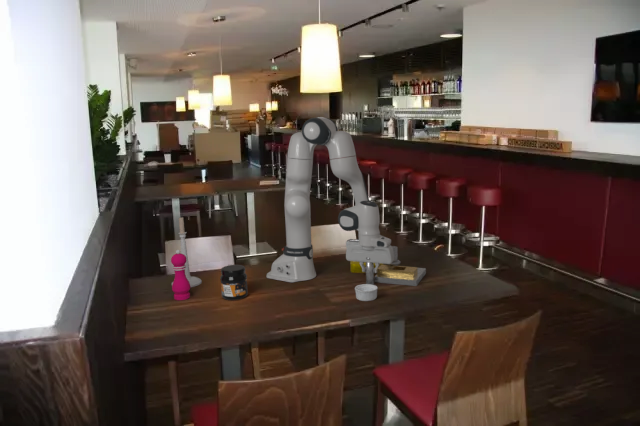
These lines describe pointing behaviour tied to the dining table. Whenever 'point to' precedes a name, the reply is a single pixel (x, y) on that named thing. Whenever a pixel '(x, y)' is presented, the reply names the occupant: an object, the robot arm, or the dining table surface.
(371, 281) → the steel pin
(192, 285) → the candlestick
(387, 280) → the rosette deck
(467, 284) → the dining table surface
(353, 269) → the element tile
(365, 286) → the ramekin
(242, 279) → the supplement container
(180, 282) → the pepper mill
